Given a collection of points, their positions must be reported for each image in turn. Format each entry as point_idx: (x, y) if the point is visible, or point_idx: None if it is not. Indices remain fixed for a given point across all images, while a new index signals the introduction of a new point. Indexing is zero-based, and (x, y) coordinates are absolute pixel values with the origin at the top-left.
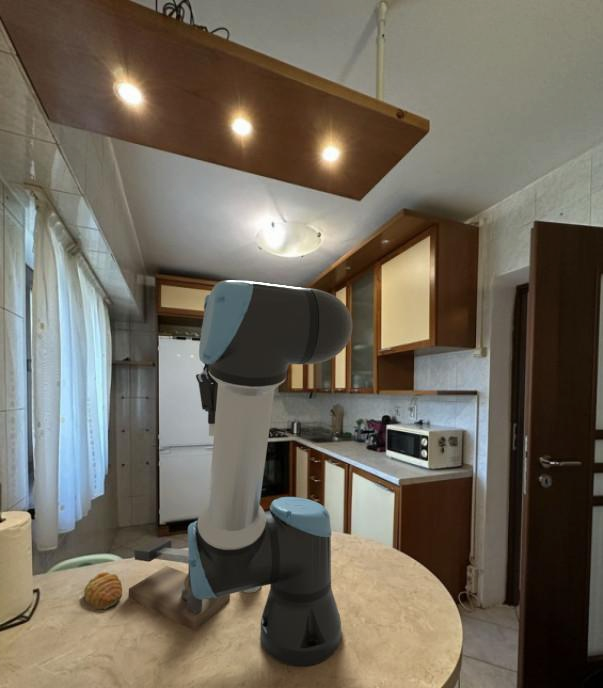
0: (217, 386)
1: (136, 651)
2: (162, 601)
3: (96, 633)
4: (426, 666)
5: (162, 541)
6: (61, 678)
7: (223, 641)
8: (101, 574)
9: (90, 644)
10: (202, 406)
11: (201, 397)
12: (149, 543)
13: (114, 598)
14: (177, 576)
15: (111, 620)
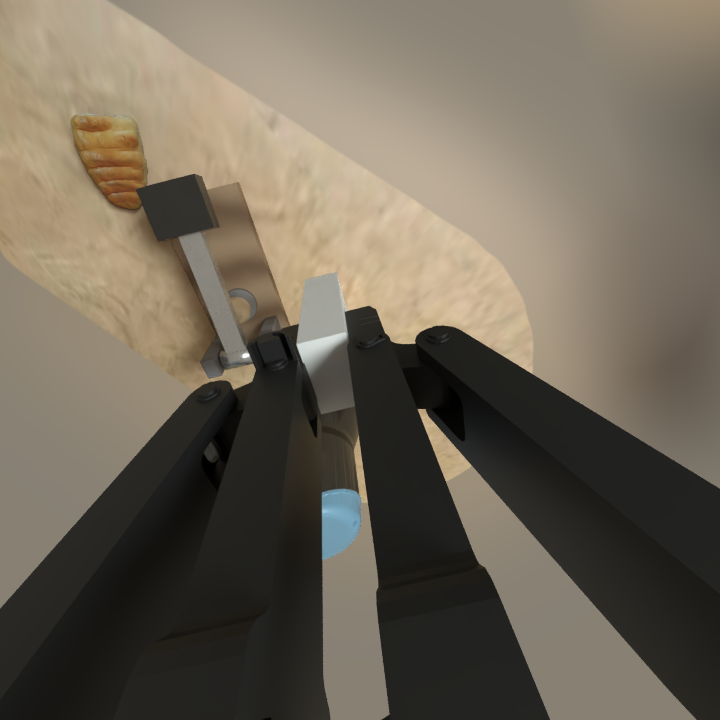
0: (321, 687)
1: (156, 323)
2: (196, 285)
3: (108, 252)
4: (361, 493)
5: (198, 210)
6: (71, 301)
7: (247, 377)
8: (93, 126)
9: (100, 269)
10: (183, 410)
11: (115, 497)
12: (172, 184)
13: (128, 207)
14: (239, 238)
15: (129, 240)
